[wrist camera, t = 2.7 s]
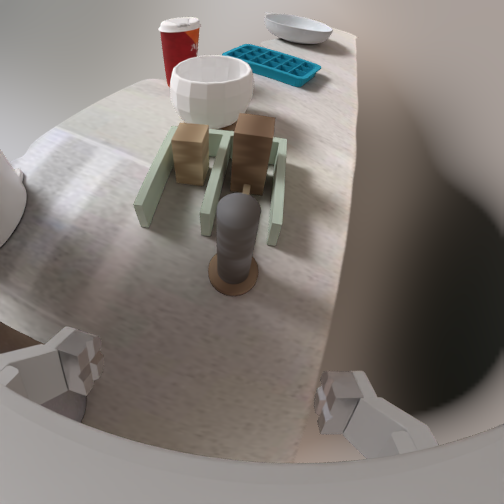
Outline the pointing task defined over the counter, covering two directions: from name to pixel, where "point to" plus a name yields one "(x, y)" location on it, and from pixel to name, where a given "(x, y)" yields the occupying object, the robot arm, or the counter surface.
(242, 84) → the white deep bowl
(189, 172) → the oak block
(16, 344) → the pillar candle
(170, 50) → the paper cup
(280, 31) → the serving bowl
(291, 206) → the counter surface
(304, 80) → the ice cube tray
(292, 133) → the counter surface
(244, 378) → the counter surface
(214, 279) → the tethered walnut block
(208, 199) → the lane rack
